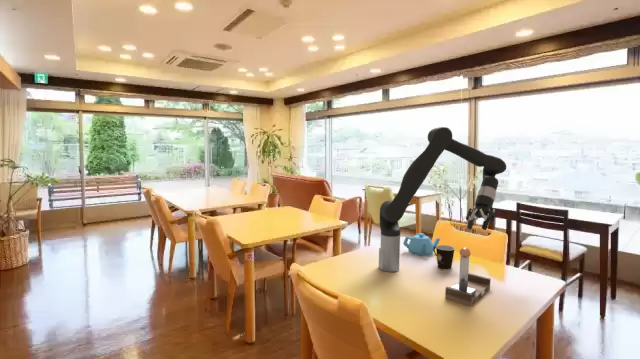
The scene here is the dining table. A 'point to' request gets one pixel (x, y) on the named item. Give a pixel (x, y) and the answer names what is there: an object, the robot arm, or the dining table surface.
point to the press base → (464, 297)
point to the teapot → (420, 244)
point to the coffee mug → (444, 256)
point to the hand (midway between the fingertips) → (476, 229)
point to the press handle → (464, 272)
